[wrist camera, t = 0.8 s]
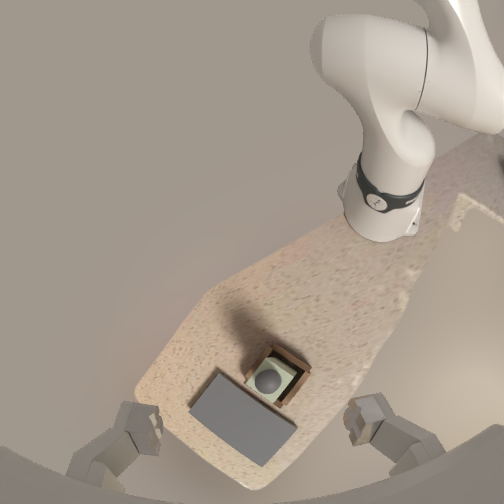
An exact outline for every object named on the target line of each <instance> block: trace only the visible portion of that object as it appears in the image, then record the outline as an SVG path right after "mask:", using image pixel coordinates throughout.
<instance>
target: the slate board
mask: <svg viewBox="0 0 504 504" xmlns="http://www.w3.org/2000/svg"><path fill="white" fill-rule="evenodd" d="M189 413H190V414H191V415H192V416H194V417H195V418H196V419H197V420H198V421H200V422H201V423H202V424H203V425H204V426H206V427H207V428H208V429H209V430H211V431H212V432H213V433H214V434H216V435H217V436H218V437H220V438H221V439H222V440H224V441H225V442H226V443H228V444H229V445H230V446H232V447H233V448H234V449H236V450H237V451H239V452H240V453H241V454H243V455H244V456H246V457H247V458H249V459H250V460H252V461H253V462H255V463H256V464H258V465H259V466H261V467H263V466H264V465H265V464H266V463H267V462H268V461H269V460H270V459H271V458H272V456H273V455H274V454H275V453H276V452H277V451H278V450H279V449H280V448H281V447H282V446H283V445H284V444H285V442H286V441H287V440H288V439H289V438H290V437H291V436H292V434H293V433H294V432H295V431H296V430H297V428H298V427H297V426H296V425H294V424H292V423H291V422H289V421H288V420H286V419H285V418H283V417H282V416H280V415H279V414H277V413H276V412H274V411H273V410H271V409H270V408H268V407H267V406H266V405H264V404H263V403H261V402H260V401H258V400H257V399H256V398H254V397H253V396H251V395H250V394H249V393H247V392H246V391H245V390H243V389H242V388H241V387H239V386H238V385H237V384H235V383H234V382H233V381H231V380H230V379H229V378H228V377H226V376H225V375H224V374H222V373H219V374H218V375H217V376H216V378H215V379H214V380H213V381H212V383H211V384H210V385H209V387H208V388H207V389H206V390H205V392H204V393H203V394H202V395H201V397H200V398H199V399H198V400H197V402H196V403H195V404H194V405H193V407H192V408H191V409H190V410H189Z"/></svg>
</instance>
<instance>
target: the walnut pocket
mask: <svg viewBox="0 0 504 504" xmlns="http://www.w3.org/2000/svg"><path fill="white" fill-rule="evenodd" d="M274 350H275V351H276V352H278V353H279V354H281V355H282V356H284V357H285V358H287V359H288V360H290V361H291V362H292V363H294V364H295V365H297V366H298V367H300V368H301V369H303V370H305V372H304V373H303V375H302V376H301V377H300V379H299V380H298V381H297V383H296V384H295V385H294V387H293V388H292V389H291V390H290V392H289V393H288V394H287V396H286V397H285V398H284V399H281V398H280V397H278V398H277V399H276V401H275V402H274V403H272V404H274V405H275V406H277V407H278V408H281V407H282V406H283V405H286V406H287V404H288V403H289V402H290V401H291V399H292V398H293V397H294V396H295V394H296V393H297V392H298V390H299V389H300V388H301V386H302V385H303V384H304V382H305V381H306V380H307V378H308V377H309V376H310V373H309V371H310V369H311V368H312V367H311V366H309V365H308V364H306V363H304V362H303V361H301V360H300V359H298V358H297V357H295V356H294V355H292V354H291V353H290V352H288V351H287V350H285V349H284V348H282V347H281V346H279V345H278V344H276V343H273V344H272V346H267V348H266V349H265V350H264V352H263V353H262V354H261V356H260V357H259V358H258V360H257V361H256V362H255V364H254V365H253V366H252V368H251V369H250V370H249V372H248V373H247V374H246V375H245V377H246V378H247V379H246V380H245V381H244V383H245V384H246V383H247V382H248V380H249V379H250V378H251V376H252V375H253V374H254V372H255V371H256V370H257V369H258V367H259V366H260V365H261V363H262V362H263V361H264V359H265V358H268V357H270V356H271V354H272V353H273V352H274ZM247 386H248V385H247ZM251 389H252V388H251ZM255 392H256V391H255ZM258 394H259V393H258ZM262 397H263V396H262ZM265 399H266V398H265ZM268 401H269V400H268Z"/></svg>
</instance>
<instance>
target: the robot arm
mask: <svg viewBox="0 0 504 504" xmlns="http://www.w3.org/2000/svg"><path fill="white" fill-rule="evenodd" d="M414 1H415V2H417V3H418V4H419V5H421V6H422V7H423V8H424V10H425V11H426V13H427V15H428V19H429V28H425V27H423V28H422V27H419V26H415V25H412V24H408V23H404V22H400V21H397V20H393V19H389V18H383V17H379V16H374V15H369V14H339V15H329V16H327V17H325V18H324V19H323V20H322V21H321V22H320V23H319V24H318V25H317V27H316V28H315V30H314V32H313V34H312V37H311V42H310V54H311V59H312V63H313V65H314V68H315V70H316V71H317V73H318V75H319V76H320V77H321V79H322V80H323V81H324V82H325V83H326V84H327V85H329V86H331V87H332V88H334V89H335V90H336V91H337V92H339V93H340V94H341V95H342V96H343V97H344V98H345V99H346V100H347V101H348V102H349V103H350V104H351V106H352V107H353V108H354V110H355V111H356V113H357V114H358V116H359V118H360V120H361V123H362V126H363V149H362V152H361V153H360V156H359V159H358V161H357V164H356V163H355V164H354V165H353V167H352V169H353V170H352V171H349V173H348V176H347V179H346V180H345V181H344V182H343V183H342V184H341V185H340V186H339V187H338V191H337V192H338V194H339V197H340V198H341V200H342V201H343V205H344V213H345V216H346V219H347V221H348V222H349V224H350V225H351V227H352V228H353V229H354V230H355V231H356V232H357V233H358V234H360V235H361V236H363V237H365V238H367V239H369V240H372V241H377V242H388V241H392V240H395V239H397V238H399V237H401V236H412V235H415V234H416V233H417V230H418V226H419V220H420V214H421V207H422V200H423V193H424V185H425V176H426V174H427V172H428V170H429V168H430V166H431V164H432V161H433V159H434V156H435V141H434V138H433V136H432V134H431V132H430V130H429V128H428V127H427V125H426V124H425V122H424V121H423V120H422V119H421V118H420V117H419V116H418V115H416V114H415V113H414V112H413V111H414V110H415V111H418V112H421V113H424V114H427V115H430V116H432V117H435V118H438V119H441V120H443V121H446V122H449V123H451V124H453V125H456V126H458V127H461V128H464V129H468V130H473V131H477V132H482V133H487V134H491V135H494V134H497V133H499V132H500V131H502V130H503V129H504V67H503V65H502V64H501V62H500V60H499V58H498V56H497V55H496V52H495V50H494V48H493V47H492V44H491V42H490V40H489V37H488V34H487V32H486V29H485V26H484V23H483V20H482V17H481V14H480V10H479V5H478V0H414ZM412 223H414V225H412ZM348 405H349V408H347V409H346V410H345V413H344V417H343V421H344V425H345V428H346V429H347V430H349V431H350V434H349V438H350V440H351V442H352V445H353V446H357V445H362V444H366V443H370V444H371V445H372V446H373V447H375V448H376V449H377V450H379V451H380V452H381V453H383V454H384V455H385V456H387V457H388V458H389V459H391V460H392V461H393V462H395V463H396V464H395V465H394V466H393V468H392V469H391V470H390V471H389V474H390V476H391V477H390V478H387V479H384V480H382V481H378V482H375V483H372V484H369V485H366V486H362V487H359V488H355V489H352V490H348V491H344V492H340V493H336V494H331V495H327V496H322V497H317V498H311V499H305V500H299V501H292V502H285V503H274V504H504V426H503V425H499V424H493V425H491V426H489V427H488V428H486V429H485V430H483V431H482V432H480V433H479V434H477V435H476V436H474V437H472V438H471V439H469V440H468V441H466V442H464V443H463V444H461V445H459V446H457V447H456V448H454V449H452V450H450V451H448V452H446V451H445V450H444V448H443V446H442V444H441V443H440V441H439V440H438V438H437V436H436V435H435V434H433V433H431V432H429V431H427V430H425V429H423V428H421V427H419V426H417V425H416V424H414V423H412V422H410V421H408V420H406V419H404V418H402V417H400V416H396V415H395V413H394V412H393V410H392V408H391V407H390V405H389V403H388V402H387V400H386V398H385V397H384V395H383V394H382V393H376V394H372V395H366V396H361V397H356V398H352V399H350V400H349V402H348ZM162 433H163V421H162V417H161V416H159V408H158V406H154V405H147V404H140V403H134V402H127V401H123V402H122V403H121V406H120V409H119V412H118V414H117V417H116V420H115V423H114V426H113V429H111V428H109V429H108V430H106V431H105V432H104V433H102V434H101V435H99V436H98V437H96V438H95V439H94V440H92V441H91V442H89V443H88V444H86V445H85V446H84V447H82V448H81V449H79V450H78V451H76V452H75V453H74V454H73V456H72V459H71V462H70V464H69V467H68V470H67V473H66V475H62V474H60V473H58V472H55V471H53V470H51V469H48V468H46V467H44V466H42V465H39V464H37V463H35V462H33V461H31V460H29V459H27V458H25V457H23V456H21V455H19V454H18V453H16V452H14V451H12V450H10V449H8V448H6V447H3V446H1V447H0V504H184V503H175V502H167V501H160V500H153V499H148V498H142V497H137V496H132V495H128V494H124V493H125V488H124V486H123V485H122V484H121V483H120V482H119V481H118V479H117V477H118V476H119V475H120V474H121V473H122V472H123V471H124V470H125V469H126V468H127V467H128V466H129V465H130V464H131V463H132V462H133V461H134V460H135V459H136V458H137V457H138V456H139V455H140V454H144V455H152V456H159V451H160V445H161V444H160V442H159V438H161V437H162Z"/></svg>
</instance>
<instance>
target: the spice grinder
mask: <svg viewBox="0 0 504 504" xmlns="http://www.w3.org/2000/svg"><path fill="white" fill-rule="evenodd" d="M296 373H297V371H296V370H294V369H293V368H291V367H290V366H288V365H287V364H285V363H284V362H283V361H281V360H280V359H278V358H277V357H268V358H265V359H264V361H263V362H262V363H261V365H260V366H259V367H258V369H257V370H256V371H255V372H254V374H253V375H252V376H251V378H250V379H249V380H248V382H247V383H246V385H248V386H249V387H250V388H252V389H253V390H254V391H256V392H257V393H259V394H260V395H261V396H263V397H264V398H266V399H267V400H269V401H270V402H271V403H274V402H275V401H276V399H277V398H278V397H279V396H280V394H281V393H282V392H283V391H284V389H285V388H286V387H287V385H288V384H289V383H290V381H291V380H292V379H293V377H294V376H295V375H296Z"/></svg>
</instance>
